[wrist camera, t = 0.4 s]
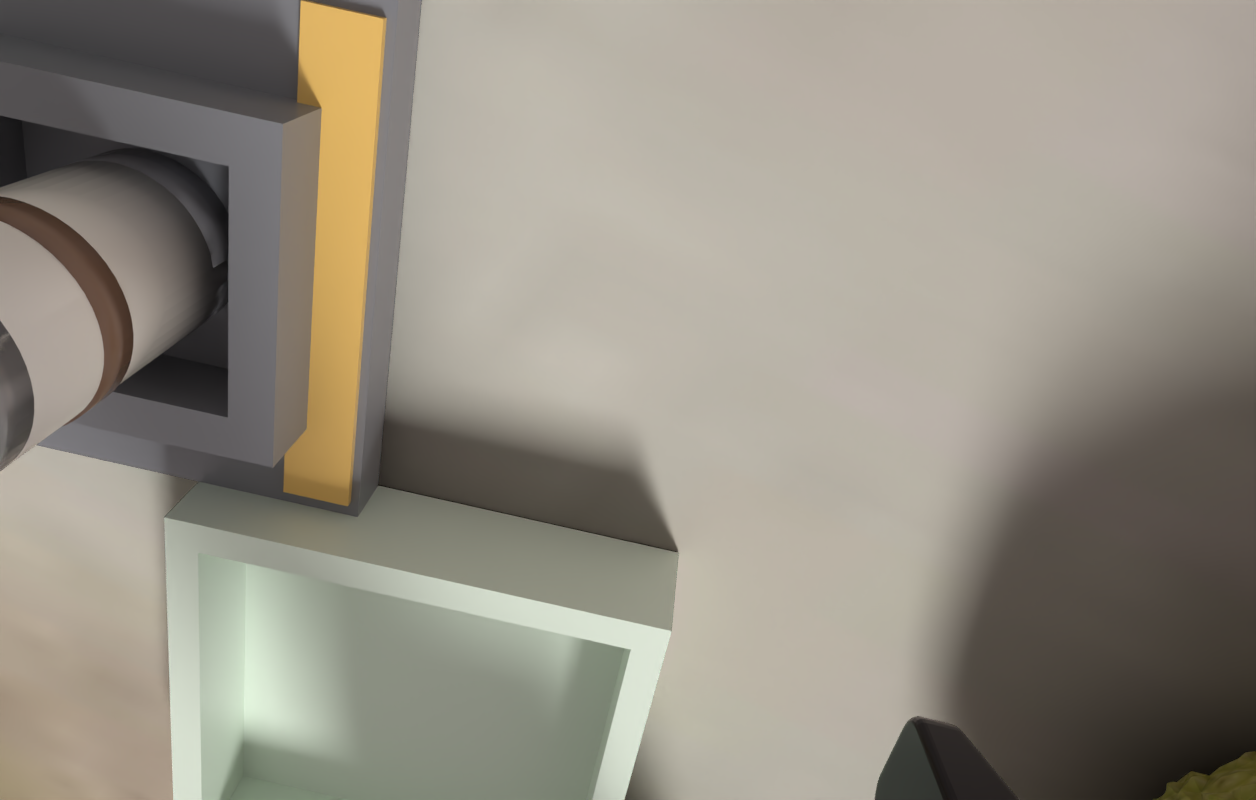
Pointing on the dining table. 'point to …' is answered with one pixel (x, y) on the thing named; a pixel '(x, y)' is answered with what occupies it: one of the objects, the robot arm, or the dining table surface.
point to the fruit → (1218, 782)
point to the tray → (405, 651)
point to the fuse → (99, 282)
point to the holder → (242, 219)
